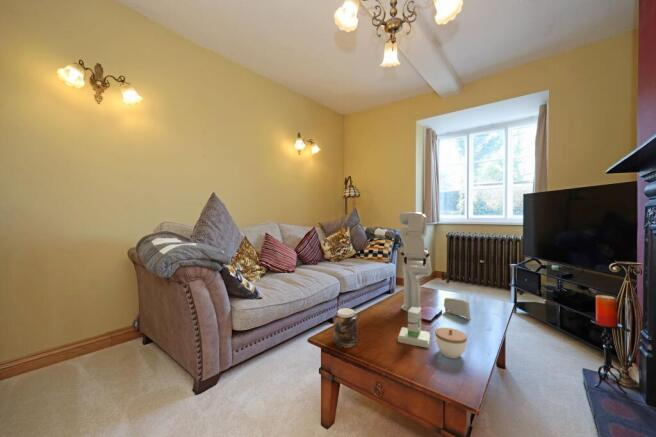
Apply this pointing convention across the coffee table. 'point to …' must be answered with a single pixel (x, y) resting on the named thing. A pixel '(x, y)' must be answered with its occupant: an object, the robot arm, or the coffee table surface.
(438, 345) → the lidded bowl
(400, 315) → the coffee table surface
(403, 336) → the stand
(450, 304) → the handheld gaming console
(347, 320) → the jar
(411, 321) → the ink box
